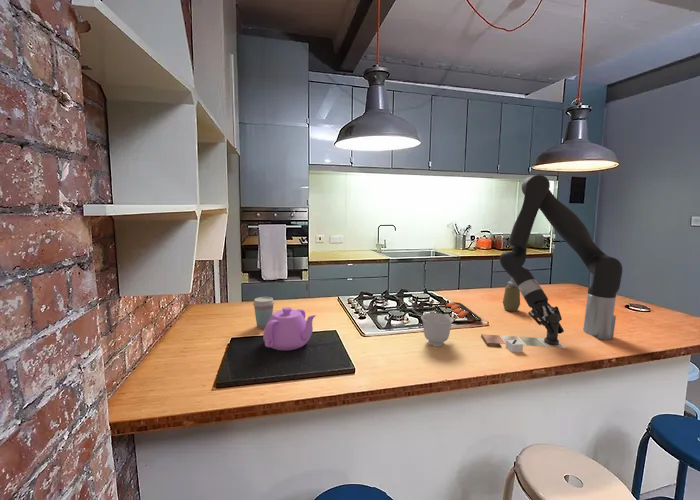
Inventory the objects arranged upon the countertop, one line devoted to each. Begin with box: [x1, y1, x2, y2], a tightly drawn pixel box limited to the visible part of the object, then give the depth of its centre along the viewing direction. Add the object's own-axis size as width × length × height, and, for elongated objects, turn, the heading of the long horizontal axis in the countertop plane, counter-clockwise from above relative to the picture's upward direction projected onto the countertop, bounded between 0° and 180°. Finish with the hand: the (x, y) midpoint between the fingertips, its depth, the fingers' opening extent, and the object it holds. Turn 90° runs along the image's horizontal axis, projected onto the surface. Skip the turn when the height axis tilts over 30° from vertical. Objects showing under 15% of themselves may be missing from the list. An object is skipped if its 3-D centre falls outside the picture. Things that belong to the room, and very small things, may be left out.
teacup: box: [420, 312, 455, 347], centre depth 130 cm, size 12×15×10 cm
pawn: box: [543, 313, 561, 345], centre depth 128 cm, size 5×5×12 cm
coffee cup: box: [252, 296, 275, 330], centre depth 142 cm, size 8×9×12 cm
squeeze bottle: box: [502, 277, 521, 312], centre depth 171 cm, size 8×8×18 cm
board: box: [480, 333, 567, 349], centre depth 130 cm, size 28×9×1 cm, turn 83°
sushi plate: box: [429, 301, 483, 323], centre depth 165 cm, size 29×30×4 cm
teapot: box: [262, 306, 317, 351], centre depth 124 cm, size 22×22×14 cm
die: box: [505, 340, 524, 353], centre depth 122 cm, size 4×4×4 cm
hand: (557, 333), depth 126 cm, fingers closed on pawn, 3 cm apart
